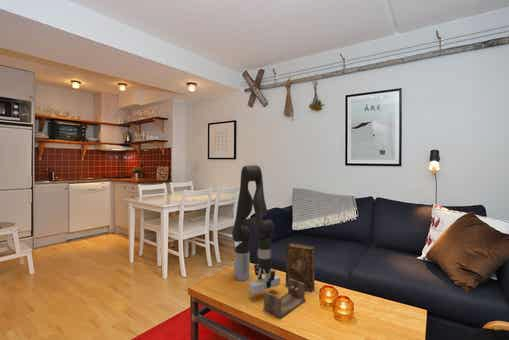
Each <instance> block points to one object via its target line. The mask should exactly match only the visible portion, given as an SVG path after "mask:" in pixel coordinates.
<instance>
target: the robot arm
mask: <svg viewBox="0 0 509 340" xmlns="http://www.w3.org/2000/svg"><path fill="white" fill-rule="evenodd" d="M250 182H255V191H254V195H253V196H252V195H251V192H250V191H249V183H250ZM263 182H264V180H263V174H262V169H261V167H260V166H259V165H244V166H243V167H242V169H241V172H240V182H239V183H240V184H239V186H240V187H239V194H238V201H237V205H236V206H237V207H236V215H235V220H234V224H233V228H232V233H231V237H232V240H233V242H236V243H238V244H237V245H236V246H235V247H234V258H235V259H234V260H235V261H234V262H233V263H234V265H233V270H234V271H233V275H234V276H233V277H234V278H235V280H237V281H240V282H241V281H242V282H243V281H247V280H249V279H250V273H251V272H250V271H251V270H250V248H251V230H250V227H249V226H248V225H243V224H244V222H245V221H246V219H248V217H249V216H250V214H251V212H252V211H254V229H255V232H256V233H257V234H259V235H261V236H260V237H259V238H258V240H257V245H258V246H257V247H258V248H257V263H255V264H254V265H253V266H254V274H255V276H257V280H259V279H262V278H263V275H264V278H265V277H266V278H267V288H269V287H270V286H271V281H273V280H274V277H275V275H276V270H275V269H274V270H273V269H272V268H271V267H272V266H271V265H272V239H273V235H274V231H275V224H274V222H273V220H271V219H263V218H264V217H266V215H268V209H267V204H266V199H265V193H264V183H263ZM262 234H263V235H262ZM239 242H240V243H239ZM268 277H269V278H268ZM269 289H270V288H269Z"/></svg>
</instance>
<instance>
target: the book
mask: <svg viewBox="0 0 509 340" xmlns="http://www.w3.org/2000/svg"><path fill="white" fill-rule="evenodd" d="M315 256H316V255H315V246H313V245H307V244H300V243H294V242H293V243H291V242H290V243H288V245H286V246H285V286H286V288H288V278H291V279H293V280H296V281H299V282H302V283H304V284H305V292H307V293H308V292H309V293H314V291H315Z"/></svg>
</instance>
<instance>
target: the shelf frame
mask: <svg viewBox="0 0 509 340" xmlns="http://www.w3.org/2000/svg"><path fill="white" fill-rule="evenodd" d="M305 292H306V291H305V284H304V283H302V282H299V281H296V280H293V279H291V278H288V287H287V292H286V293H285V294H284V295H282V296H281V297H280V296H277V295H275V294H272V293H270V292H268V291H266V290H264V291H263V312H266V313H267V314H269V315H272V316H273V317H276V318H277V319H280V320H282V319H283V318H285V317H286V316H287V315H288V314H290V313H292V312H293V311H295V310H296V309H297V308H298V307H300V306H301V305H303V304H304V303H305V302H306V299H305V297H306V296H305Z"/></svg>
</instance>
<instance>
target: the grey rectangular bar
mask: <svg viewBox="0 0 509 340" xmlns="http://www.w3.org/2000/svg"><path fill="white" fill-rule="evenodd" d="M268 278H269V277H268ZM279 285H280V286H281V277H279V276H278V275H276V274H275V277H274V280H273V281H271V286H270V287H269V288H267V278H266V277H265V276H264V277H262V279H259V280H258V279H257V280H253V281H250V282H248V291H250V293H252V294H253V295H254V294H258V293H261V292H264V291H266V290H268V289H269V290H270V289H272V288H274V287H278V286H279Z"/></svg>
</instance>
